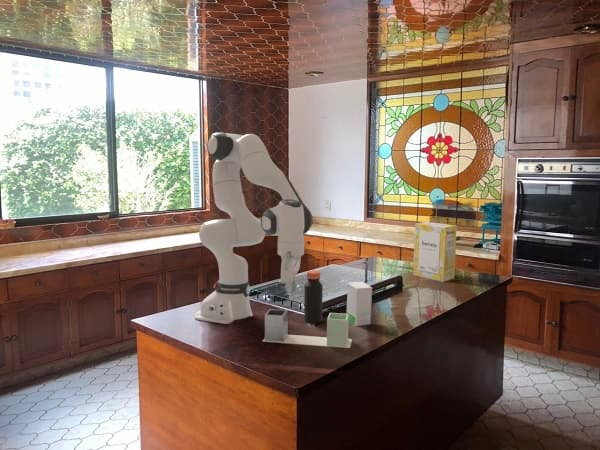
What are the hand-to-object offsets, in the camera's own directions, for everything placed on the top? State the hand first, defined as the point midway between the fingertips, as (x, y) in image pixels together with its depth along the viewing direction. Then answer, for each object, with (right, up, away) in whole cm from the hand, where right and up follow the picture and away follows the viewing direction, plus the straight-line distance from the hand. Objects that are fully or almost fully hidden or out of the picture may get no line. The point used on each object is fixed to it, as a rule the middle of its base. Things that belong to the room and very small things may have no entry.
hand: (290, 289), depth 159 cm
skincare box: (+25, -16, +20) cm, 36 cm away
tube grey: (-5, -17, +3) cm, 18 cm away
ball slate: (0, -1, 0) cm, 1 cm away
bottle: (+8, -16, +21) cm, 28 cm away
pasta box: (+74, -6, +92) cm, 118 cm away
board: (+6, -19, +1) cm, 19 cm away
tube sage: (+16, -18, -1) cm, 24 cm away
